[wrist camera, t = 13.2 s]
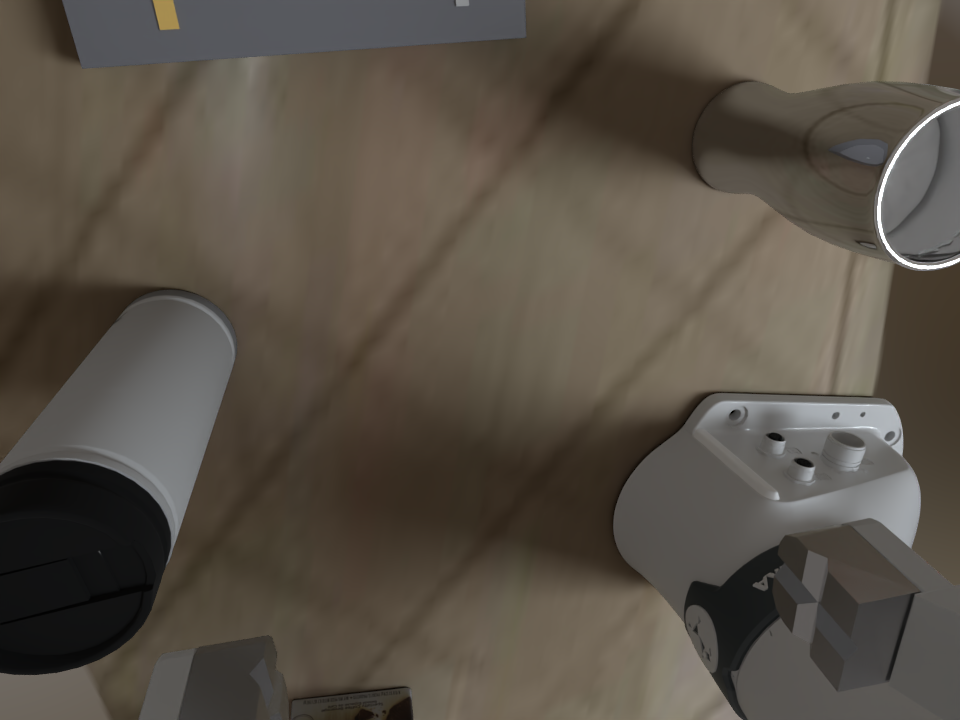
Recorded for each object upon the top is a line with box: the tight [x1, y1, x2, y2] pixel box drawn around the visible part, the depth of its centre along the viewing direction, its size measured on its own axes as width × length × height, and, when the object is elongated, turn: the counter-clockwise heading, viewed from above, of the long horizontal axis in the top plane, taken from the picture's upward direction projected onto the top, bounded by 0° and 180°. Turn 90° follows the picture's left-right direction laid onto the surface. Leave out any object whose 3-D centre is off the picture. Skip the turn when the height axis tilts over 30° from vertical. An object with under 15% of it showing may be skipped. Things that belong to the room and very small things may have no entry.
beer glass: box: [692, 81, 960, 271], centre depth 32 cm, size 7×7×15 cm
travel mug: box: [0, 290, 237, 675], centre depth 28 cm, size 6×7×20 cm
